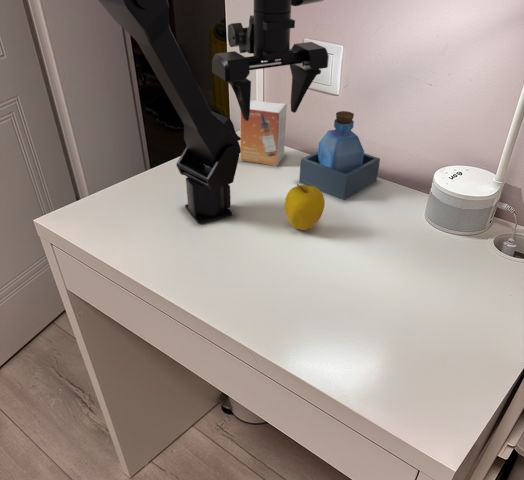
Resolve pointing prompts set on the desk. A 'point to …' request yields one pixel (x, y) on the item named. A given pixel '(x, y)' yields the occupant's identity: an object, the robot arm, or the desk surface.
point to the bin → (338, 176)
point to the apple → (304, 206)
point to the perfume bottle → (341, 145)
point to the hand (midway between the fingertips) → (270, 115)
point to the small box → (263, 133)
